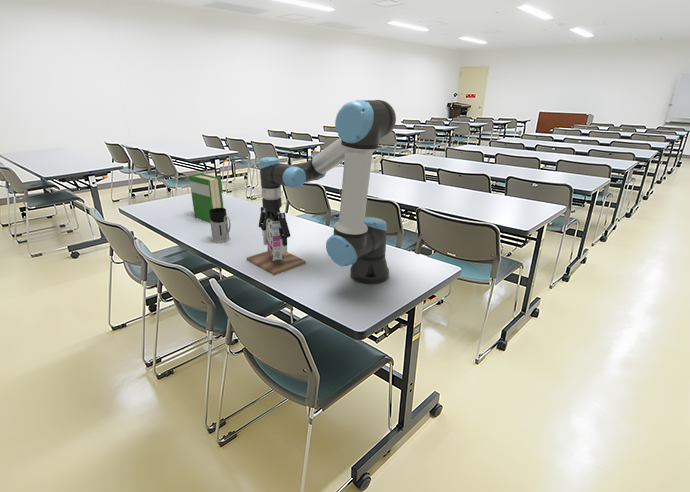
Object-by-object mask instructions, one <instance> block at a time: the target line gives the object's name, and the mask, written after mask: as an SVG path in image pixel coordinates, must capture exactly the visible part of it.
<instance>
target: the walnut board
mask: <svg viewBox="0 0 690 492" xmlns="http://www.w3.org/2000/svg"><path fill="white" fill-rule="evenodd" d="M283 258H284V260H280V261H272V259H271V257H270V255H269V253H268V250H267V251H264V252H259V253H256V254H254V255H250V256H248V257H247V256H246V261H248V262H249V263H251V264H253V265H254V266H257V267H259V268H260V269H262V270H264V271H266V272H267V273H269V274H272V275H273V276H275V275H277V274H281V273H284V272H286V271H288V270H292V269H294V268H297V267H300V266H302V265H306V263H307V261H306V260H305V259H303V258H300V257H298V256H296V255H294V254H292V253H290V252H288V251H287V252H285V253H283Z"/></svg>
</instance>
